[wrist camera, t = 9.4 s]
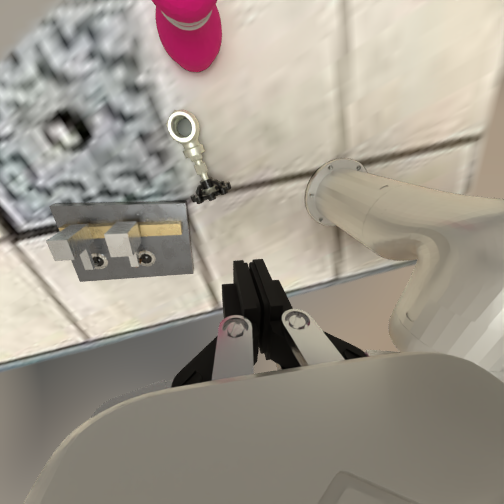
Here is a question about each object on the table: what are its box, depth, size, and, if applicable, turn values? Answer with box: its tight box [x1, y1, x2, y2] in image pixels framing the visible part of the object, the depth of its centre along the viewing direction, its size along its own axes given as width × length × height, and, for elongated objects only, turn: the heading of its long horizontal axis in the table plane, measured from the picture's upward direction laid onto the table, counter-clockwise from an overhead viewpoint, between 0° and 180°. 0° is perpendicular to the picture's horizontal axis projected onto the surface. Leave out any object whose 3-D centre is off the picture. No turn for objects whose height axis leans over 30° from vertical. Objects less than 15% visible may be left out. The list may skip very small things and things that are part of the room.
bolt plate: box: [46, 201, 194, 282], centre depth 36 cm, size 20×14×9 cm
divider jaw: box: [104, 221, 142, 267], centre depth 35 cm, size 3×8×6 cm, turn 179°
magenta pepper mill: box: [152, 0, 222, 72], centre depth 20 cm, size 7×7×20 cm
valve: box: [166, 110, 231, 204], centre depth 33 cm, size 7×7×12 cm
